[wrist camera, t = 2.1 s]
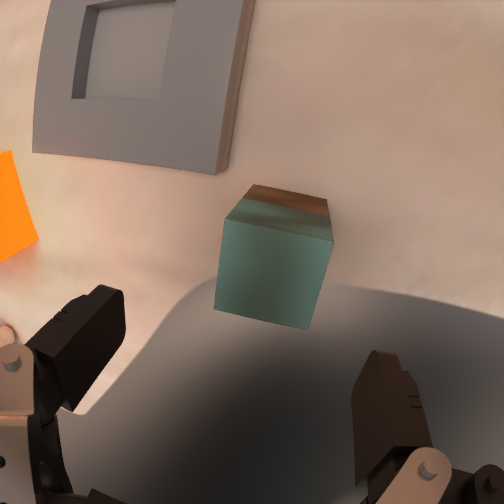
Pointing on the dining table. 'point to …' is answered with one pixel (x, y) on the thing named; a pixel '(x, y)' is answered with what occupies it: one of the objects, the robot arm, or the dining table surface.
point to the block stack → (274, 256)
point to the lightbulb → (6, 336)
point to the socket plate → (141, 81)
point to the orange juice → (13, 211)
